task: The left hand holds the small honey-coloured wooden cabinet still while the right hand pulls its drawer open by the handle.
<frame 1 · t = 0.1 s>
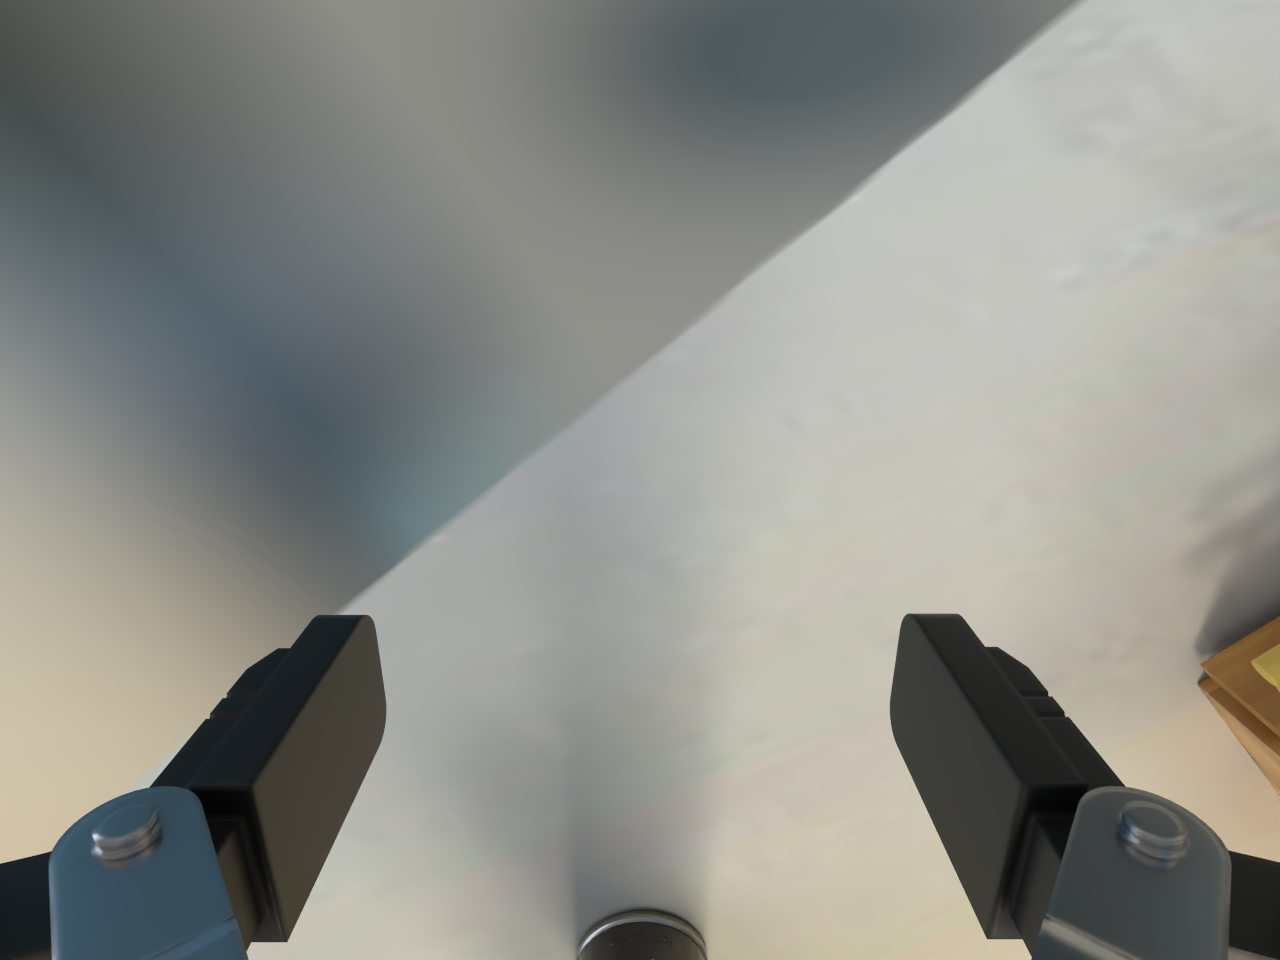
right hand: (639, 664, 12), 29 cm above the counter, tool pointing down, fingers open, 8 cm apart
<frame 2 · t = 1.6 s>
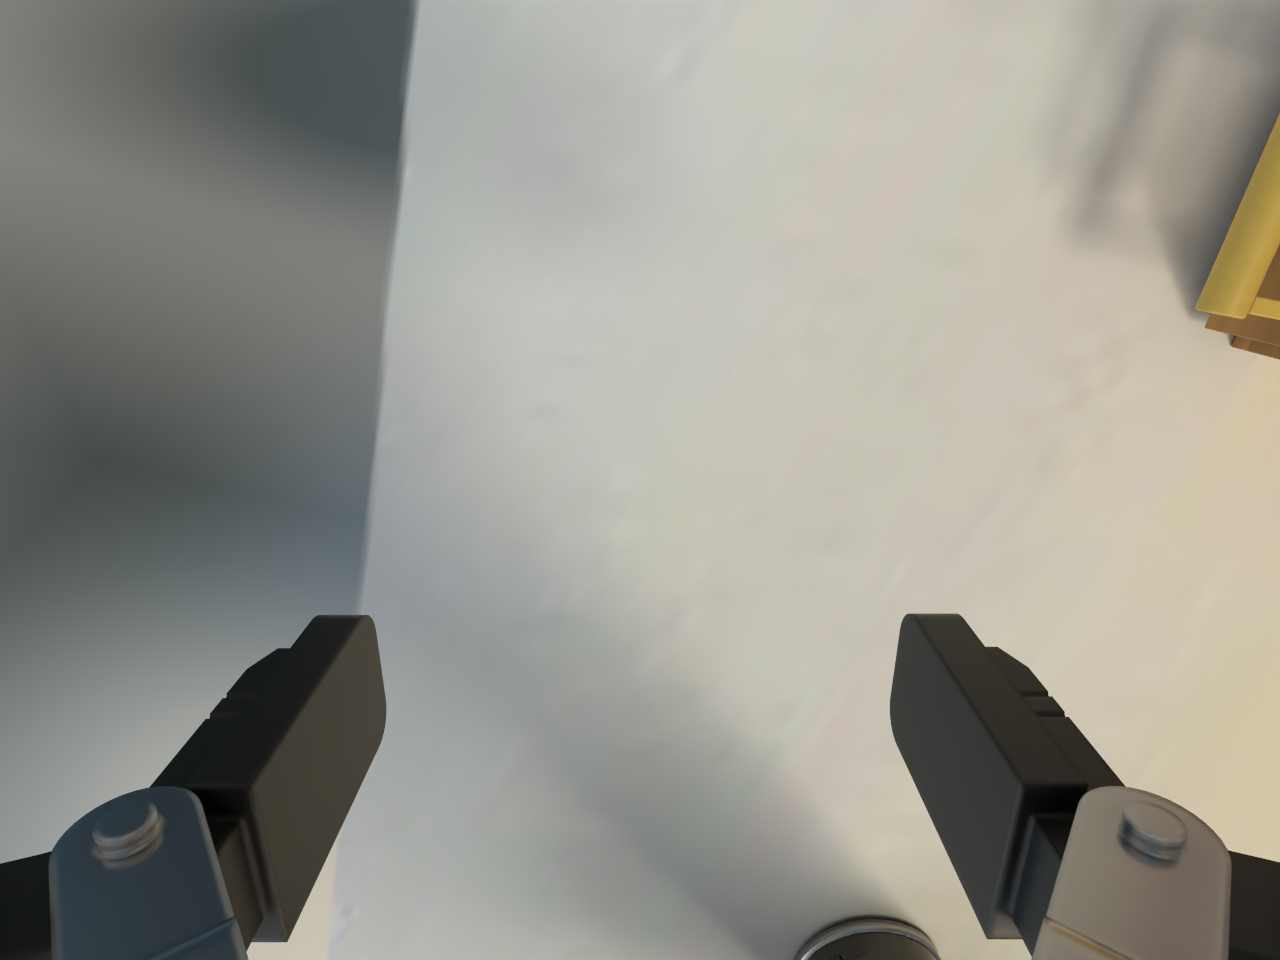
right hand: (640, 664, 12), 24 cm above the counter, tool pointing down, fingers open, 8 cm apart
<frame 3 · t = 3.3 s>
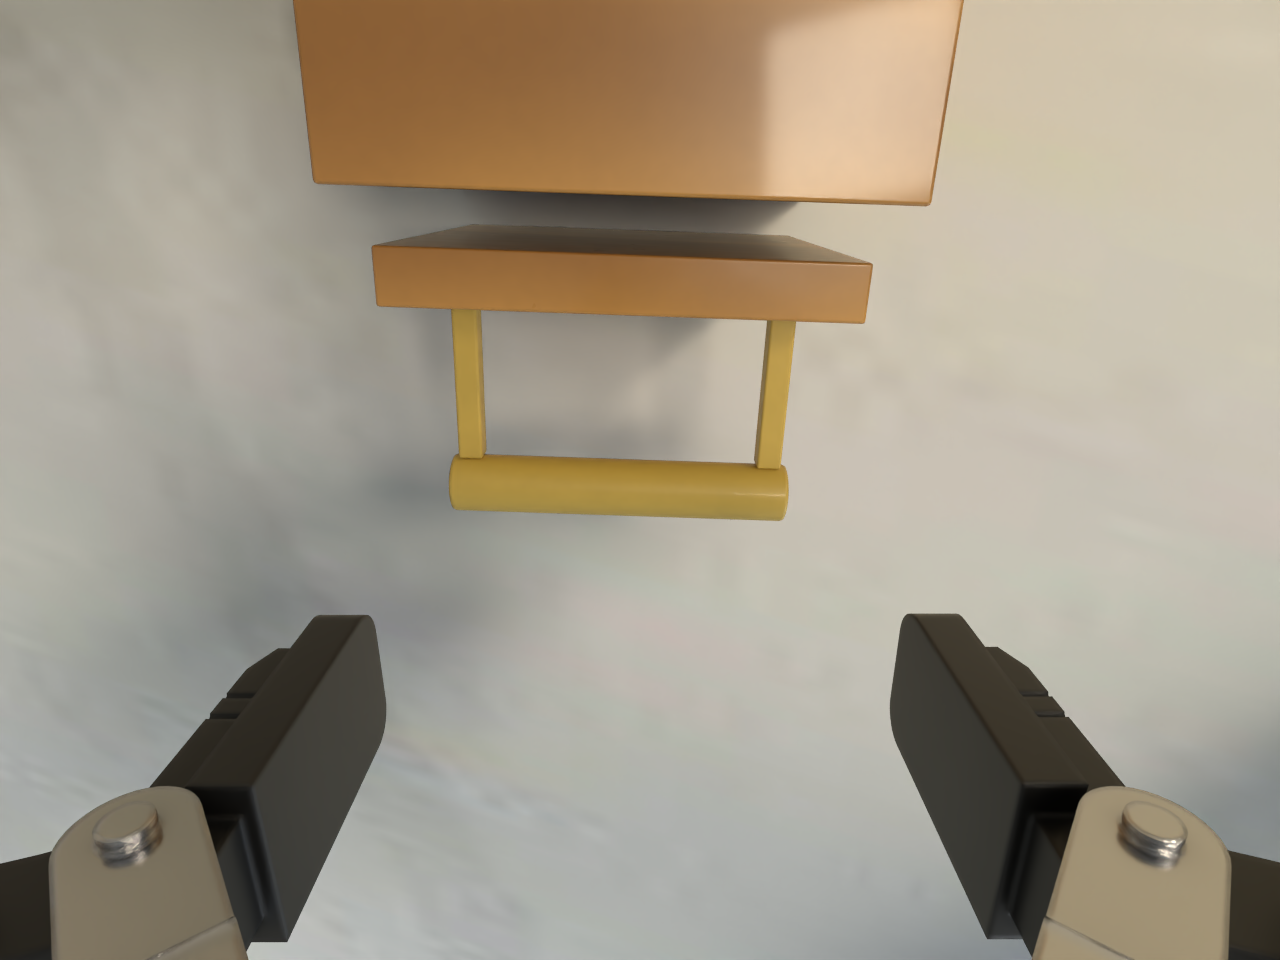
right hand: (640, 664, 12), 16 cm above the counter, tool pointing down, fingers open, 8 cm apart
drawer: (633, 45, 18), point 6 cm above the counter, slide at 1.1 cm
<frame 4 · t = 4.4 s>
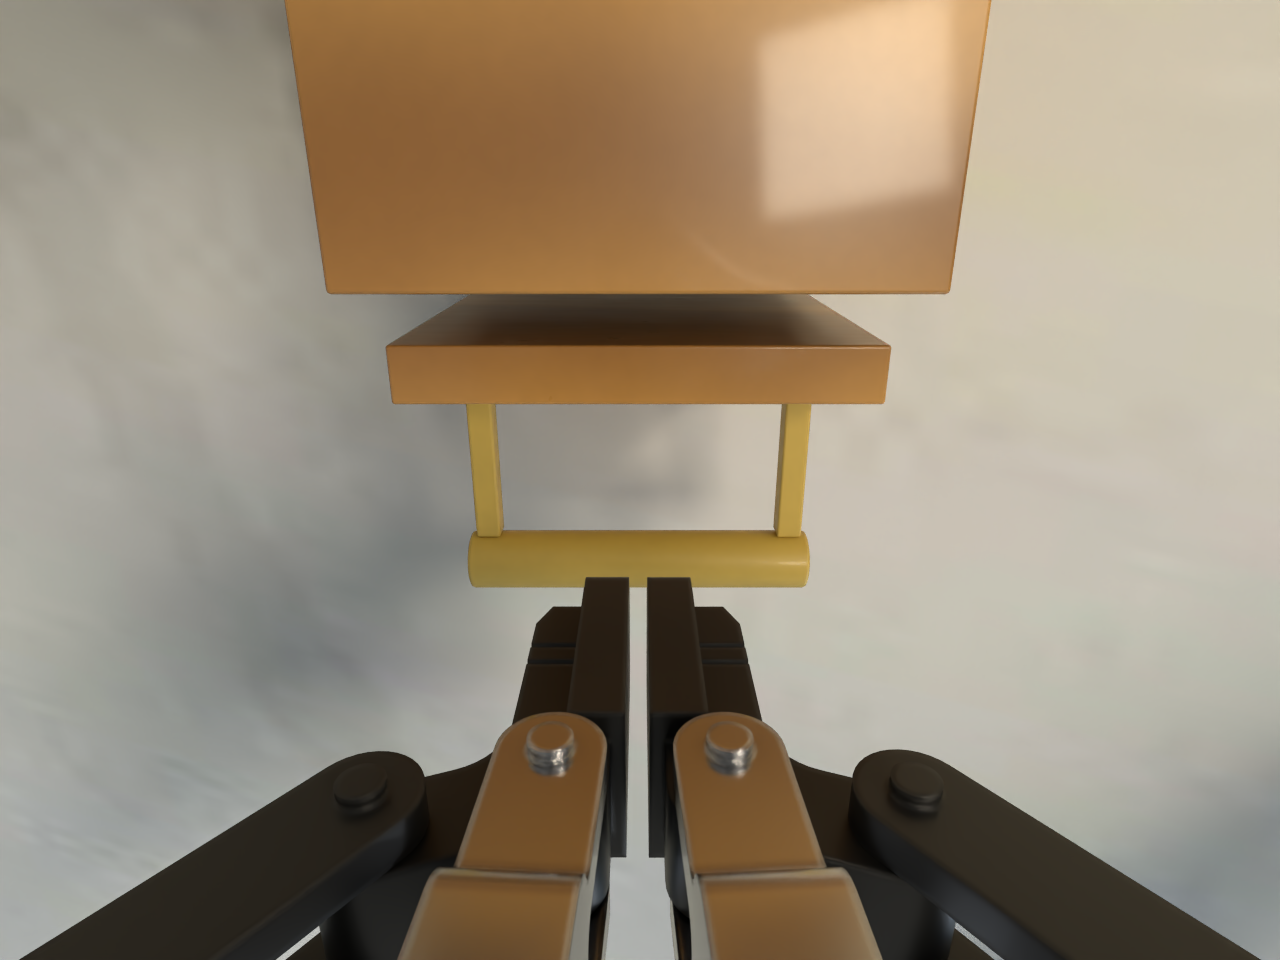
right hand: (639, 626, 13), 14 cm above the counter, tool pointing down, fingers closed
drawer: (638, 121, 18), point 6 cm above the counter, slide at 1.1 cm
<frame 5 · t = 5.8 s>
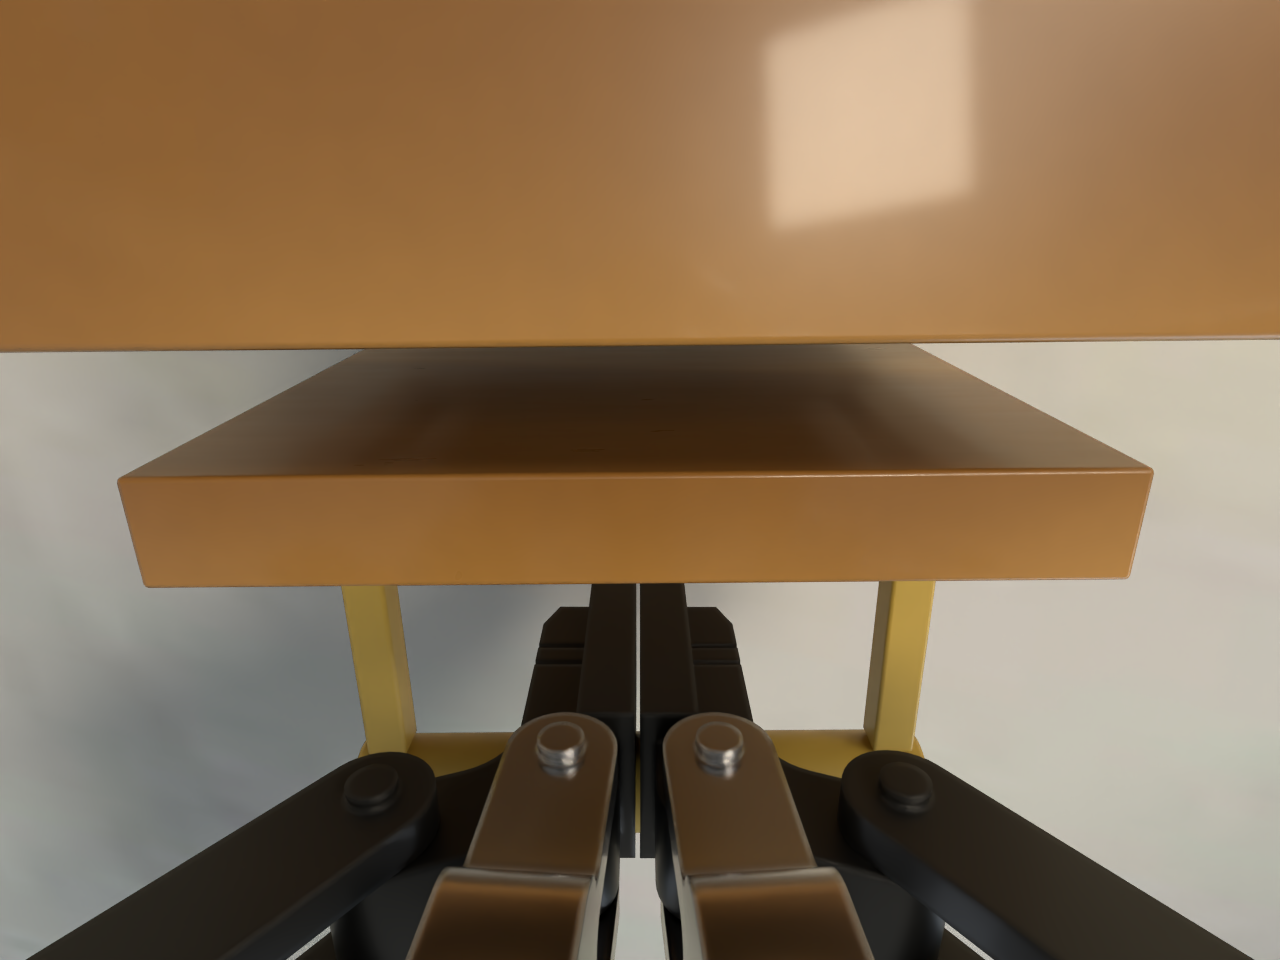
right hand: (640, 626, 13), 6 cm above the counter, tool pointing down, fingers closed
drawer: (632, 50, 10), point 6 cm above the counter, slide at 1.4 cm, touching right hand
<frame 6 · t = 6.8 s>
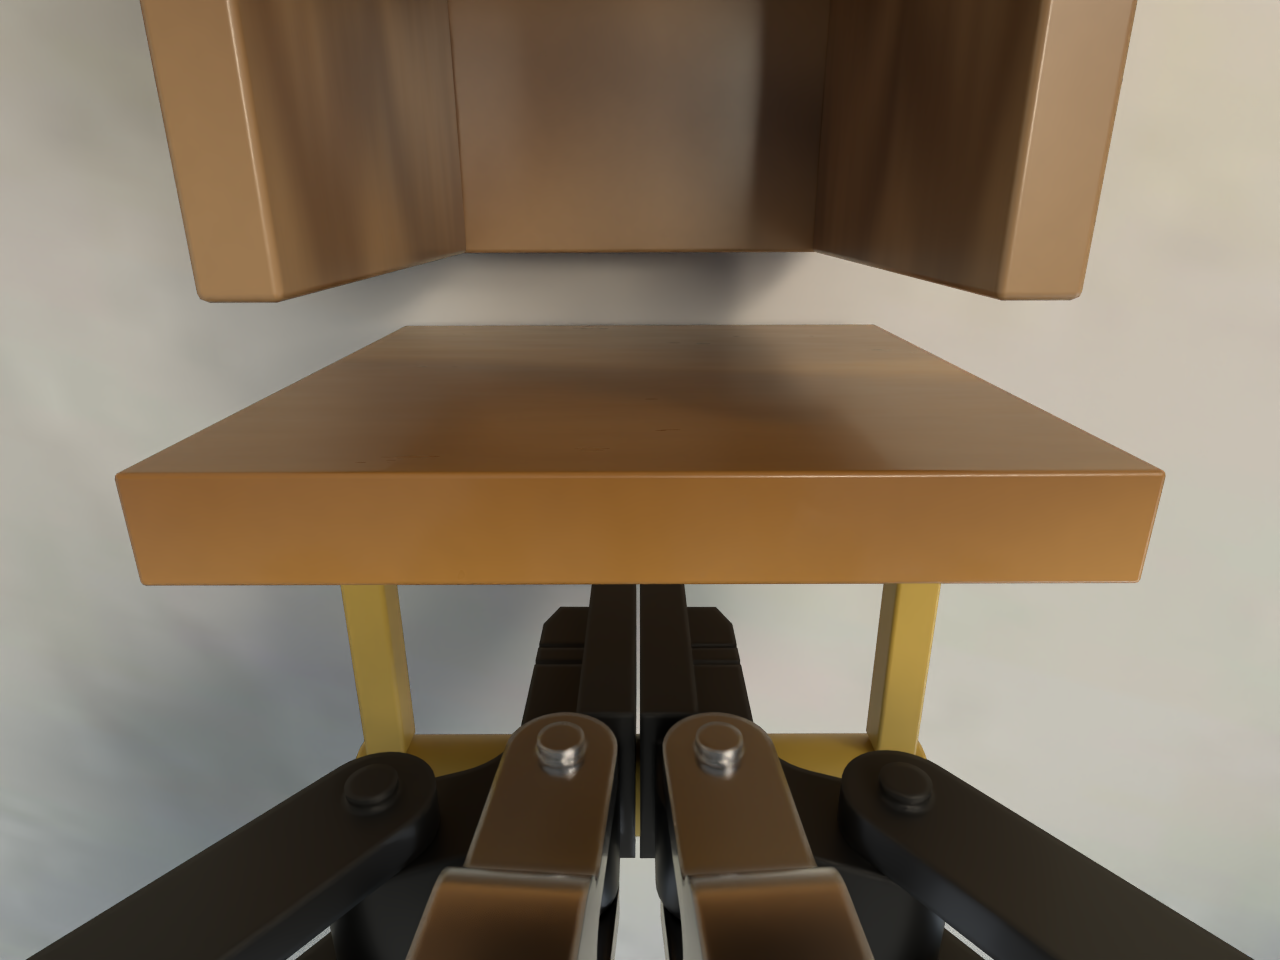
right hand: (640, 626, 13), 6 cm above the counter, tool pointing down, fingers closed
drawer: (638, 46, 10), point 6 cm above the counter, slide at 7.4 cm, touching right hand
when the left hand's fingers open (7 cm above the counter, at t = 8.6 s): cabinet stays where it is, on the counter.
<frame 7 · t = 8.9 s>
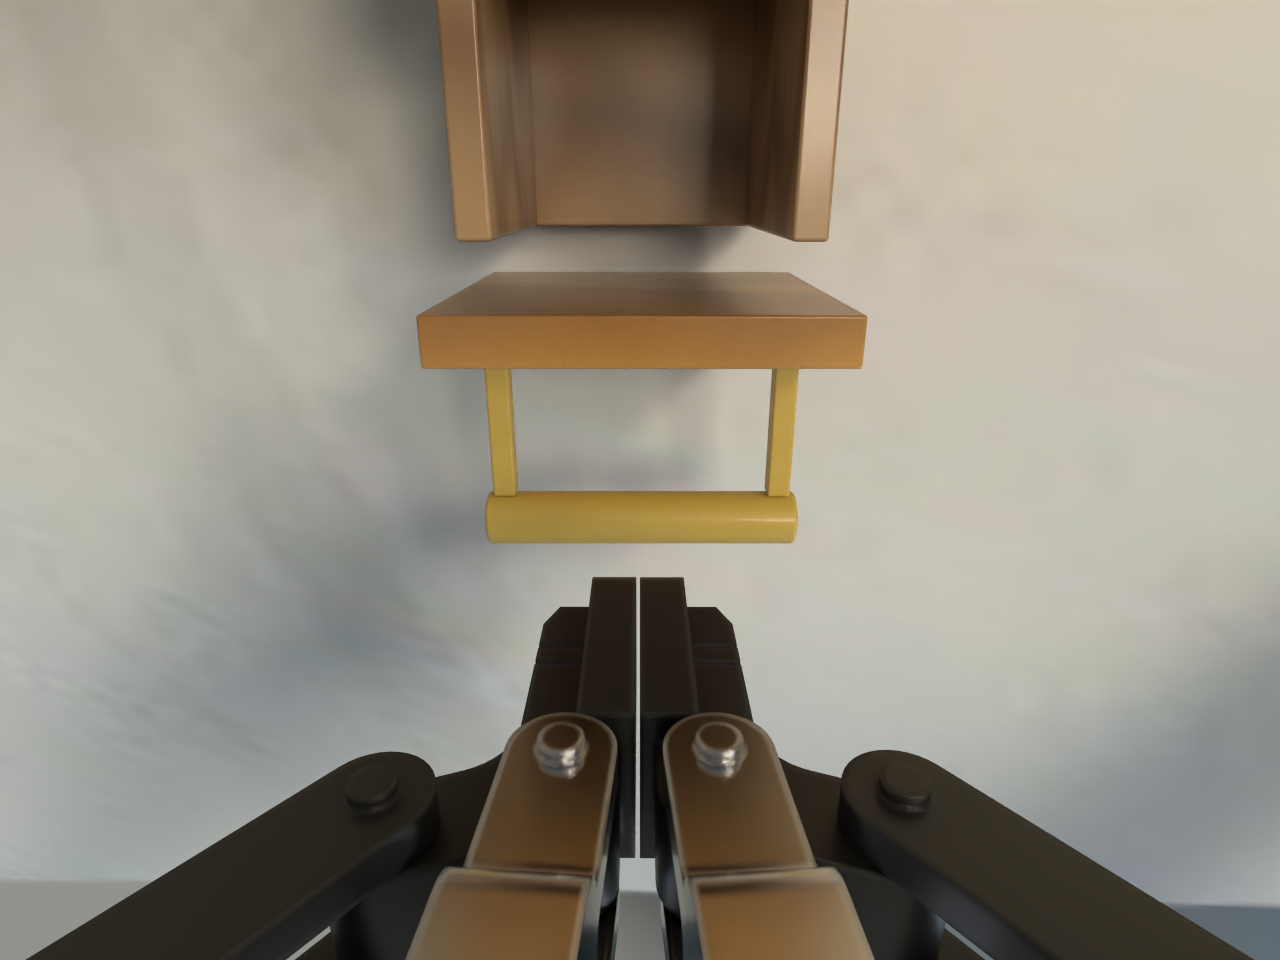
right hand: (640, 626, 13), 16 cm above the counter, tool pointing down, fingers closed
drawer: (641, 116, 20), point 6 cm above the counter, slide at 7.4 cm
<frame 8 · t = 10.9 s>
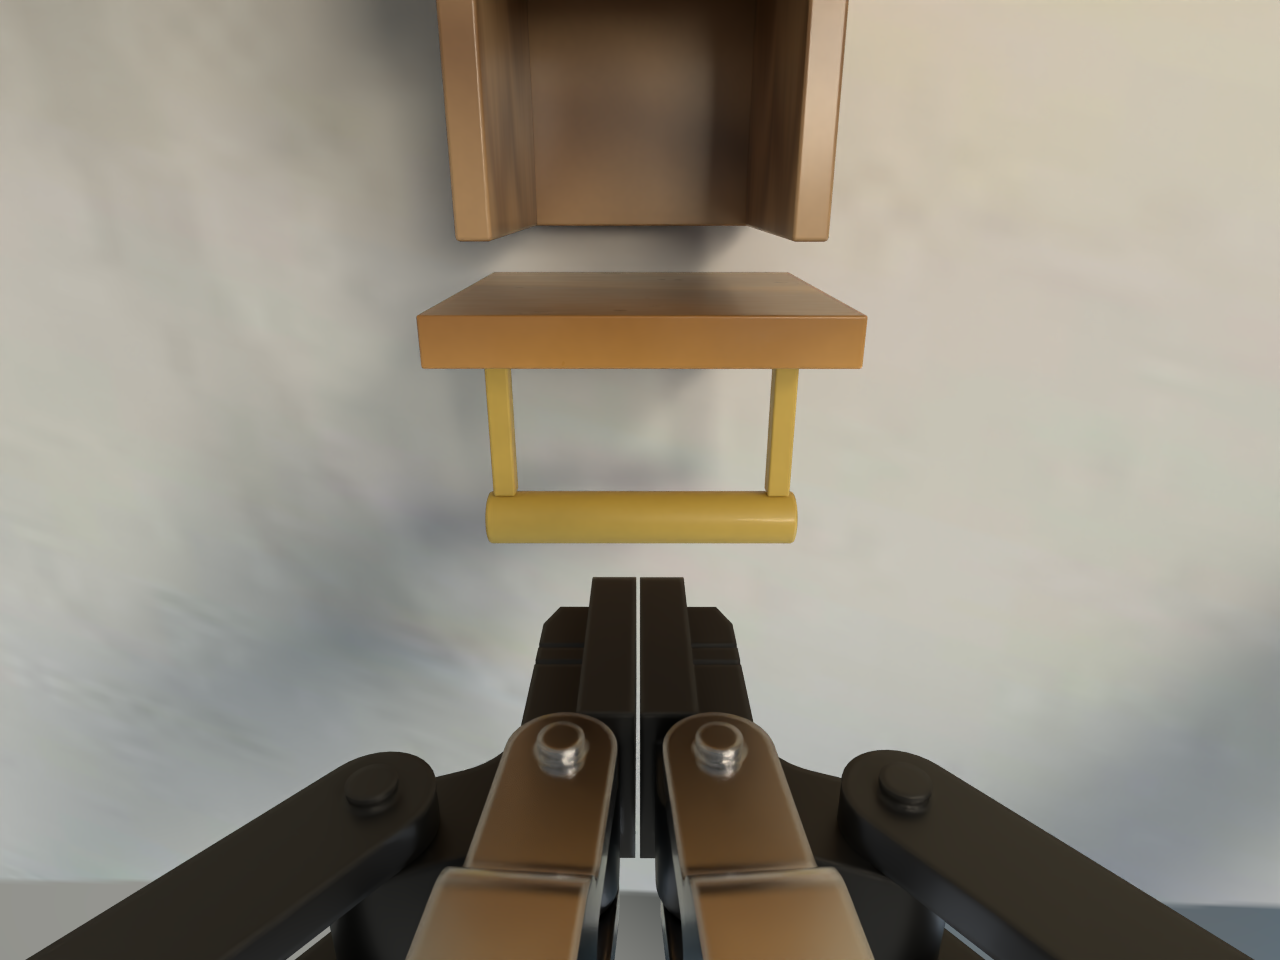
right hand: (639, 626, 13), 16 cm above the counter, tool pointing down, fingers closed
drawer: (641, 116, 20), point 6 cm above the counter, slide at 7.4 cm
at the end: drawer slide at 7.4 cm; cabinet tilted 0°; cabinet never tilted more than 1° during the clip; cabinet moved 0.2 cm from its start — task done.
